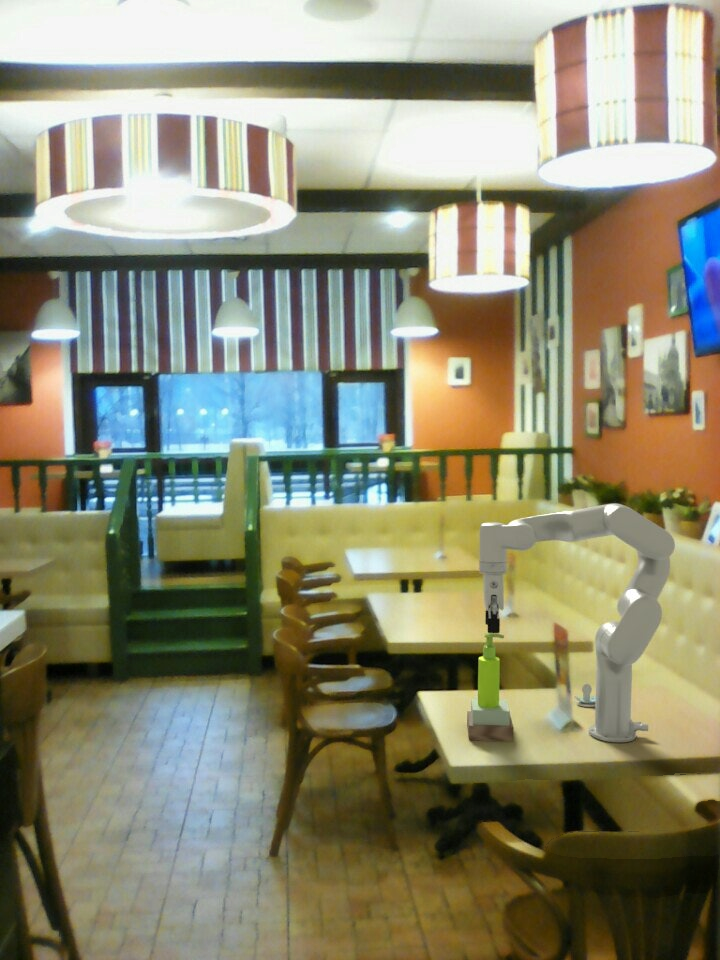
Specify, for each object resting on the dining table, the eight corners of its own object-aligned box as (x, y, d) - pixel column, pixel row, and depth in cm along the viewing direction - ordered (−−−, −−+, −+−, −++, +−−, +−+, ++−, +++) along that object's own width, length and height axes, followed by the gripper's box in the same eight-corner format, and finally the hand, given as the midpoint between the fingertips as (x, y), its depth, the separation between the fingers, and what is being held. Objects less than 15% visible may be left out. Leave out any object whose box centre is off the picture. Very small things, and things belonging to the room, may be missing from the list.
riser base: (509, 726, 249) (509, 712, 249) (513, 741, 237) (513, 727, 237) (467, 724, 250) (467, 711, 250) (468, 739, 238) (469, 725, 238)
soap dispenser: (502, 709, 240) (504, 637, 239) (477, 707, 241) (478, 636, 240) (502, 702, 246) (504, 632, 244) (477, 700, 247) (479, 631, 245)
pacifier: (602, 708, 267) (596, 701, 273) (602, 688, 266) (596, 682, 272) (578, 708, 266) (572, 701, 272) (578, 688, 266) (573, 682, 272)
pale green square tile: (506, 713, 248) (506, 699, 248) (509, 725, 238) (509, 711, 238) (471, 712, 249) (471, 698, 249) (472, 724, 239) (472, 710, 239)
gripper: (509, 573, 232) (508, 636, 233) (504, 562, 249) (503, 621, 250) (480, 572, 233) (480, 636, 234) (477, 562, 250) (477, 621, 251)
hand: (492, 628), depth 242 cm, fingers open, 9 cm apart
